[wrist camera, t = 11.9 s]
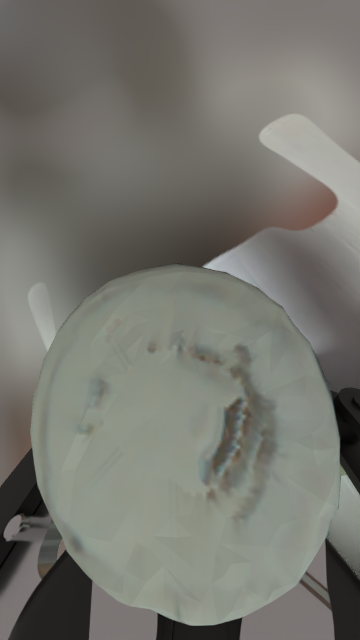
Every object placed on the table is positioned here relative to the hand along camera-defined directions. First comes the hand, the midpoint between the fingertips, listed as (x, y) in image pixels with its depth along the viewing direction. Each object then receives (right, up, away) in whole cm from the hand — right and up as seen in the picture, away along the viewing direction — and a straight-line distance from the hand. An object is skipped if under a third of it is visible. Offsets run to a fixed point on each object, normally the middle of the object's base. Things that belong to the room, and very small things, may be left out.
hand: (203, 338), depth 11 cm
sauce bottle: (+2, -3, +10) cm, 11 cm away
